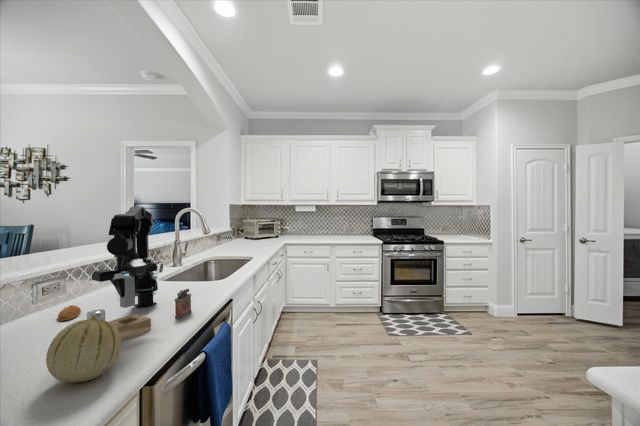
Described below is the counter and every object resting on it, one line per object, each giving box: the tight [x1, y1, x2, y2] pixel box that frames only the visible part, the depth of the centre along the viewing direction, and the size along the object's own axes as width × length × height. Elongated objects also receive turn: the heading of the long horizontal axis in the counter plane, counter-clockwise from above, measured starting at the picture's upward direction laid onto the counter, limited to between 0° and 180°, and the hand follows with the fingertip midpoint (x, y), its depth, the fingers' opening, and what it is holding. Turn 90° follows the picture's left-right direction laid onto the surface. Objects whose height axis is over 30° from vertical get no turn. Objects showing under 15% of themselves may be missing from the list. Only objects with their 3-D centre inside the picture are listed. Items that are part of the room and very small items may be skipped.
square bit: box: [119, 276, 136, 309], centre depth 101 cm, size 3×3×10 cm
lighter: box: [174, 288, 192, 320], centre depth 117 cm, size 8×3×10 cm, turn 168°
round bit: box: [86, 308, 106, 321], centre depth 105 cm, size 5×5×6 cm
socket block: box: [108, 313, 152, 342], centre depth 101 cm, size 10×10×4 cm
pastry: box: [57, 305, 82, 322], centre depth 115 cm, size 9×7×4 cm
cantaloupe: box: [45, 315, 122, 383], centre depth 74 cm, size 15×15×15 cm
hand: (127, 295), depth 101 cm, fingers closed on square bit, 3 cm apart
